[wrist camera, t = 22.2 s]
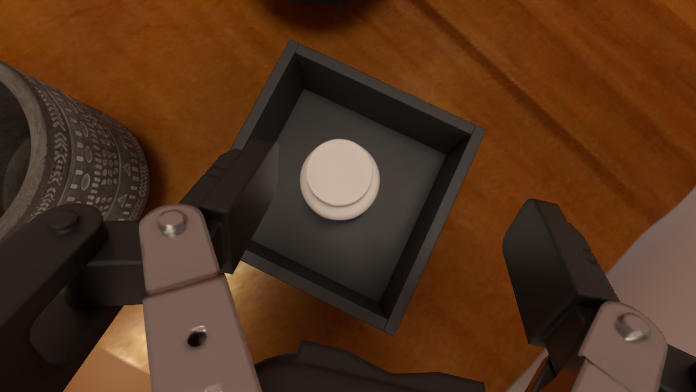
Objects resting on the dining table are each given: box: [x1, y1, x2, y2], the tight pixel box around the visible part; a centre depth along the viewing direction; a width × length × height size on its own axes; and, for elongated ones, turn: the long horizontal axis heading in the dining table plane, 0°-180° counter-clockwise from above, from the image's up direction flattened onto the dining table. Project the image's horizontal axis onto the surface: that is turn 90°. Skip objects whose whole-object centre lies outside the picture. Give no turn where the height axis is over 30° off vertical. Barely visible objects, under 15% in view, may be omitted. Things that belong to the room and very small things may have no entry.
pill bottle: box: [300, 139, 380, 224], centre depth 25 cm, size 5×5×10 cm
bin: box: [230, 39, 486, 336], centre depth 27 cm, size 16×16×7 cm
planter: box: [0, 61, 150, 244], centre depth 24 cm, size 12×12×13 cm
